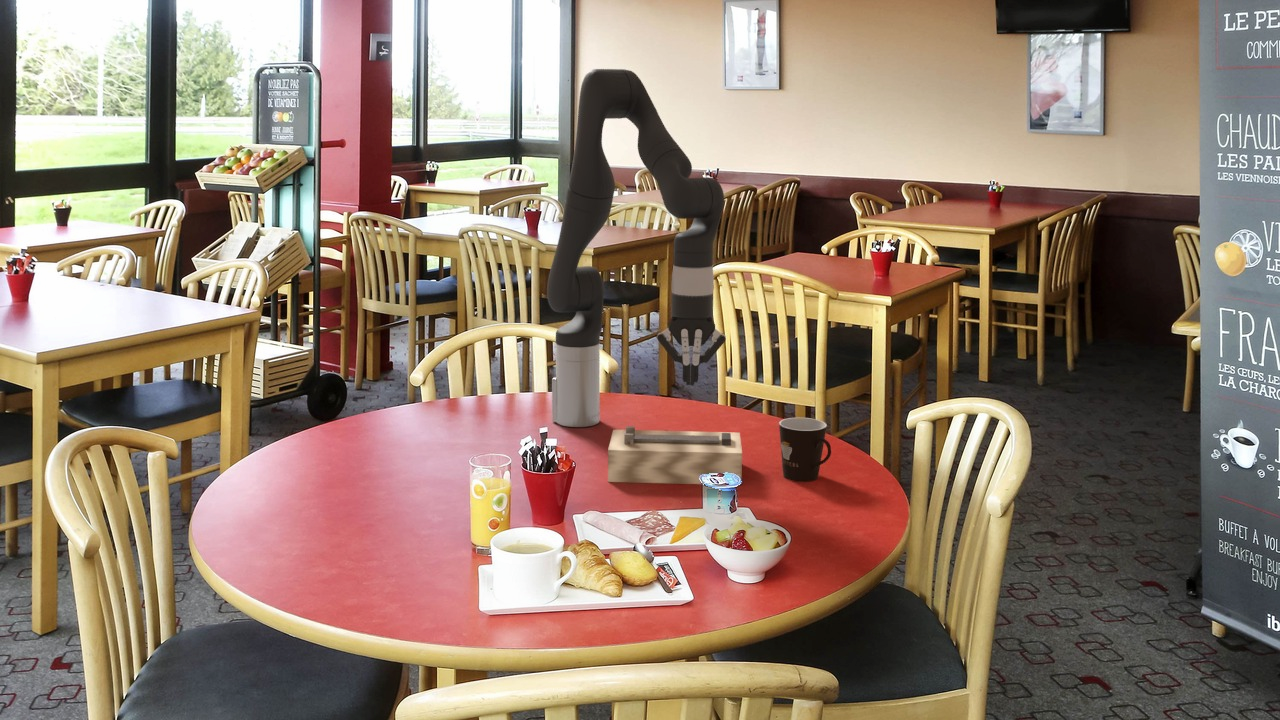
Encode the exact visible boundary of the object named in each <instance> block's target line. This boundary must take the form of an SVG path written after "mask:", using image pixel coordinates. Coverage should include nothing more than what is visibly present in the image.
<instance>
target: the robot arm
mask: <svg viewBox="0 0 1280 720" xmlns="http://www.w3.org/2000/svg"><path fill="white" fill-rule="evenodd" d="M606 119H607V120H608V119H612V120H613V119H614V120H617V119H620V120H622V119H628V120H629V122H631V123H632V124H633V125H634V126H635V128H636V129H637V131H638V134H637V136H638V137H637V151H638V155H639V157H640V160H641V162H642V164H643V165H644V166H645V168H646V169H647V170H648V172H649V173H650V174H651V175H652V177H653V178H654V179H655V181H656V184H657V187H658V190H659V192H660V196H661V197H662V198H661V199H662V201H663V205H664V208H665V209H666V211H667V212H668V213H669V214H670V215H672V217H674V218H677V219H681V220H687V219H688V220H689V219H693V220H692V224H691V226H690V227H689V228H688V229H686V230H684V231H681V232H679V233H677V234H676V235H675V237H674V240H673V263H672V264H673V269H672V274H671V300H670V301H671V302H670V306H671V307H670V320H669V322H668V326H667V328H665V329H664V330H663V331H659V332H658V333H657V337H656V340H657V341H658V342H659V343H660V345H661V346H662V347H663V349H664V350H665V351H666V352H667V354H668V355H669V357H671V359H672V361H674V362H675V363H676V362H677V363H679V364H681V365H682V381H683V382H684V383H686V384H685V385H686V386H695V383H698V381H699V367H700V365H701V364H703V363H708V362H709V361H710V360H711V359H712V357H713V356H714V355H715V354H716V352H718V351H719V349H720V348H721V347H722V345H723V344H725V342H726V341H727V340H726V339H727V338H726V334H725V333H721V332H720V331H719V330H718V329H716V324H715V322H714V289H715V283H714V282H715V279H714V278H715V275H714V265H713V264H714V242H715V238H716V236H717V233H718V228H719V226H720V221H721V217H722V214H723V210H724V207H725V195H724V194H725V193H724V190H723V187H722V186H721V183H719V181H718V180H717V179H715V178H714V177H706V176H705V177H691V175H692V171H693V167H692V166H693V165H692V163H691V161H690V159H689V157H688V156H687V154H686V153H685V152H684V151H683V149H682V148H681V147H680V146H679V144H678V143H677V142H676V140H674V139H675V138H673V136H671V134H670V133H669V131H668V130H667V128H666V125H665V124H664V123H663V120H662V119H661V116H660V115H659V112H658V110H657V108H656V105H655V104H654V102H653V101H652V99H651V97H650V94H649V93H648V91H647V89H646V87H645V85H644V84H643V82H642V80H641V78H640V77H638V75H637V74H636V73H635V72H634V71H632V70H630V69H622V68H619V69H618V68H614V69H613V68H593V69H590V70H589V71H588V72H587V73H586V74H585V75H584V77H583V80H582V82H581V86H580V92H579V101H578V112H577V123H576V135H575V136H576V137H575V144H574V151H573V158H572V164H571V170H570V174H569V178H568V179H569V180H568V184H567V190H566V195H565V200H564V201H565V203H564V209H563V214H562V215H563V217H562V221H561V227H560V233H559V237H558V241H557V245H556V249H555V253H554V255H553V259H552V263H551V266H550V271H549V274H548V279H547V284H546V286H547V287H546V297H547V302H548V305H549V307H550V308H551V310H553V311H554V312H557V313H561V314H562V313H564V314H565V313H575V315H574V316H573V318H572V319H571V320H570V321H569V322H567V323H566V324H563V325H562V326H560V327H558V328H557V330H556V332H555V376H554V377H553V378H552V379H551V399H552V400H551V405H552V406H551V407H552V409H551V414H552V415H551V416H552V417H551V418H552V419H551V420H552V421H551V422H553V423H557V424H558V425H560V426H562V427H563V426H564V427H570V428H586V427H592V426H595V425H597V424H599V423H600V413H601V412H600V381H601V378H600V375H601V374H600V362H601V360H600V358H601V357H600V353H601V352H600V348H601V347H600V338H601V333H602V329H603V328H602V327H603V313H604V299H605V298H604V294H605V293H604V291H605V290H604V281H603V276H602V275H601V273H600V271H599V270H598V268H597V267H594V266H591V265H589V266H586V265H585V266H579V263H580V260H581V258H582V255H583V253H584V251H585V250H586V249H587V247H588V245H590V243H591V242H592V240H594V238H595V237H596V236H597V234H598V233H599V232H600V231H601V229H602V228H603V227H604V226H605V224H606V222H607V220H608V219H609V216H610V215H611V210H612V204H613V200H614V195H615V188H616V187H615V186H616V184H615V183H616V181H615V178H614V173H613V171H612V168H611V166H610V164H609V161H608V159H607V157H606V155H605V152H604V148H603V130H604V129H603V128H604V125H605V121H606ZM711 336H712V337H711ZM672 337H673V338H674V339H675V340H676V342H677V344H678V345H680V346H681V353H682V354H681V353H679V351H678V350H677V349H676V347H675V346H674V345H673V344H672V342H671V340H672ZM710 337H711V341H712V343H711V344H710V345H709V346H708V348H707V349H706V350H705V351H704V353H702V354H701V347H702V346H704V345H705V344H706V343H707V341H708V340H709V339H710ZM691 346H692V347H693V350H692V359H691V357H690V347H691ZM690 359H691V362H690Z"/></svg>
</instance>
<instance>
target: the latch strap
mask: <svg viewBox="0 0 1280 720" xmlns="http://www.w3.org/2000/svg"><path fill="white" fill-rule="evenodd" d="M633 442H660V443H705V444H719V436H697V435H652V434H634V435H633Z"/></svg>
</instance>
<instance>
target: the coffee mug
mask: <svg viewBox="0 0 1280 720" xmlns="http://www.w3.org/2000/svg"><path fill="white" fill-rule="evenodd" d="M827 425H828V424H827V423H826V422H825V421H822V420H820V419H816V418H810V417H788V418H784V419H781V420H780V421H779V422H778V427H779V439H780V441H779V442H780V451H781V452H780V454H781V465H782V476H783V478H785V479H786V480H788V481H793V482H797V483H806V482H814V481H816V480H818V478H819V474H820V469H821V465H822V464H825V463H826V462H827V461H828V460H829V459H830V458H831V455H832V448H831V444H830V442H829V441H828V439H826V433H827ZM824 444H825V445H826V449H827V454H826V456H825V457H824V459H822V457H823V456H822V455H823V450H824Z"/></svg>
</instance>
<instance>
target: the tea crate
mask: <svg viewBox="0 0 1280 720" xmlns="http://www.w3.org/2000/svg"><path fill="white" fill-rule="evenodd" d="M634 434H652V435H697V436H719V444H705V443H660V442H633V435H634ZM609 441H610V442H609V445H608V448H607V449H608V450H607V482H608V483H636V484H638V483H639V484H641V483H643V484H644V483H645V484H680V485H681V484H683V485H702V484H701V483H700V480H699V476H700V475H702V474H709V473H725V472H728V473H734V474H736V475H738V476H739V477H740V478H741V479H742V468H743V465H742V464H743V450H742V449H743V448H742V440H741V432H734V431H733V432H731V431H730V432H727V431H692V430H691V431H689V430H688V431H687V430H686V431H685V430H642V429H641V430H640V429H636V426H629V425H628V426H627V425H626V426H625V429H613V430H612V433H611V437H610V440H609Z"/></svg>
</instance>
